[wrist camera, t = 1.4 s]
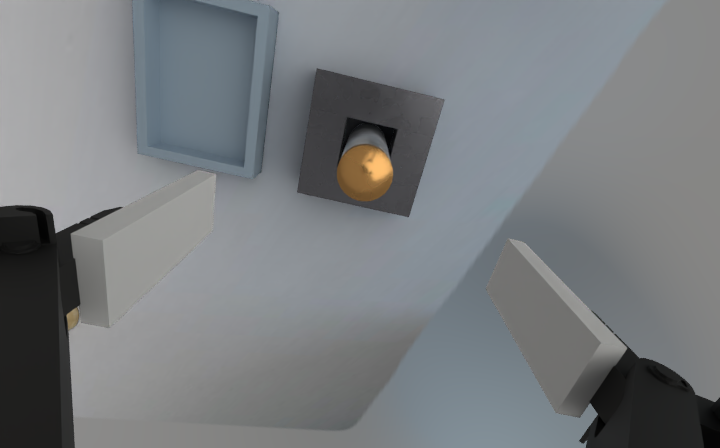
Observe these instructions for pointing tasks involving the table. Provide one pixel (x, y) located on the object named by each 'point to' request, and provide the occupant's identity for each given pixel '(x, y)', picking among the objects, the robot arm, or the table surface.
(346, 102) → the block
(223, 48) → the tray
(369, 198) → the steel pin
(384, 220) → the table surface
